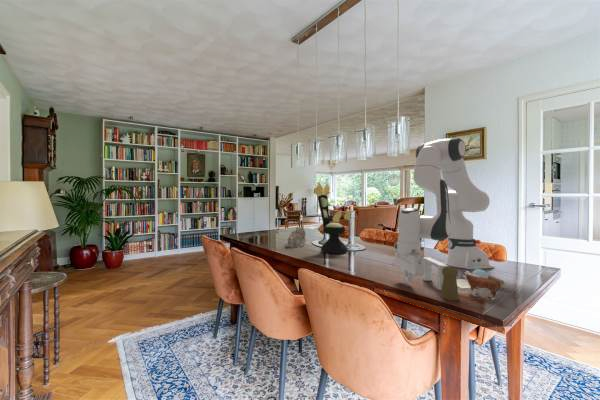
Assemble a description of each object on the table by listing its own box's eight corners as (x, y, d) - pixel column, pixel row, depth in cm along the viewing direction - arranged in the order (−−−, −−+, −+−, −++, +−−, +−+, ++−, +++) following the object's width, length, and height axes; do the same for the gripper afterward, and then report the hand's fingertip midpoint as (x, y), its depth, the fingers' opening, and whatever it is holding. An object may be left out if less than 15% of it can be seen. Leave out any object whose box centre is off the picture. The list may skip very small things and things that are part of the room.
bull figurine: (464, 289, 121) (465, 269, 120) (501, 299, 109) (502, 277, 109) (458, 291, 118) (458, 270, 118) (495, 302, 107) (496, 279, 107)
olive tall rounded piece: (437, 294, 115) (437, 265, 115) (452, 294, 115) (453, 265, 115) (446, 300, 109) (446, 269, 109) (462, 299, 109) (463, 269, 109)
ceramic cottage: (298, 242, 230) (297, 222, 228) (310, 246, 216) (309, 225, 215) (279, 245, 222) (279, 225, 220) (291, 250, 208) (290, 228, 206)
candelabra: (341, 256, 181) (341, 180, 180) (308, 252, 192) (308, 180, 191) (352, 250, 198) (352, 181, 196) (321, 247, 209) (321, 181, 207)
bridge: (429, 279, 135) (429, 257, 134) (447, 290, 120) (448, 265, 120) (422, 279, 135) (422, 257, 134) (440, 290, 120) (440, 265, 119)
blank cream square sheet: (471, 279, 134) (471, 278, 134) (490, 288, 122) (490, 287, 122) (445, 279, 134) (445, 279, 134) (461, 288, 122) (461, 288, 122)
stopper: (481, 278, 136) (481, 271, 136) (504, 288, 122) (504, 281, 122) (476, 278, 136) (477, 271, 136) (499, 288, 122) (499, 281, 122)
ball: (484, 273, 132) (474, 264, 131) (494, 277, 126) (483, 268, 125) (476, 284, 131) (465, 275, 131) (485, 288, 125) (474, 279, 125)
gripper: (428, 252, 116) (428, 288, 116) (406, 243, 136) (406, 274, 137) (412, 252, 115) (411, 289, 116) (392, 243, 136) (392, 274, 136)
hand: (408, 280), depth 127 cm, fingers closed
